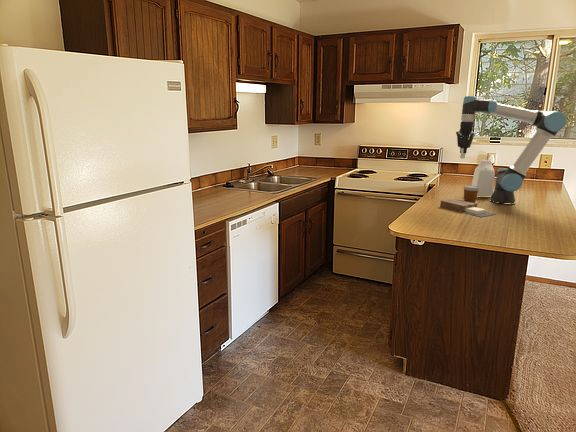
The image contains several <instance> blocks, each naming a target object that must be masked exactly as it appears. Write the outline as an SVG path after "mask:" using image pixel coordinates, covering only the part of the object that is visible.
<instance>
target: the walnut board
mask: <svg viewBox="0 0 576 432" xmlns="http://www.w3.org/2000/svg"><path fill="white" fill-rule="evenodd" d="M439 205H440V206H439V207H440V208H442V209H448V210H451V211H455V212H459V213H463V212H466V211H465V209H466V208H469V207H477V206H478V203H476V202H475V203H472V202H467V201H464V199H463V200H461V199H459V198H450V199H444V200H440V204H439ZM477 208H478V207H477Z"/></svg>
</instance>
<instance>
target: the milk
mask: <svg viewBox="0 0 576 432" xmlns="http://www.w3.org/2000/svg"><path fill="white" fill-rule="evenodd" d="M495 174H496V173H495V168H494V166H493V163H492V161H491V160H490V159H481V160H480V162H479V163H478V165H477V166H476V167H475V169H474V172H473V175H472V176H473V177H472V182H471V186H477V187H479V191H478V193H477V196H492V194H493V192H494V188H495V187H494V186H495V178H496V177H495Z"/></svg>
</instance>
